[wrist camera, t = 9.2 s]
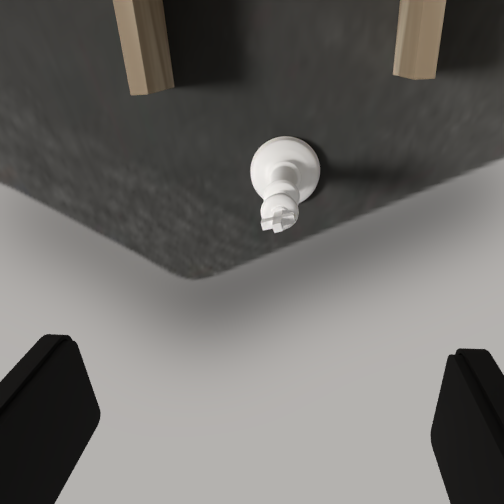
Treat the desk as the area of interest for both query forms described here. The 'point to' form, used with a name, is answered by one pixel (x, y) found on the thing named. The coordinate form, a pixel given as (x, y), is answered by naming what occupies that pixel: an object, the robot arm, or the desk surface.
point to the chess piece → (283, 179)
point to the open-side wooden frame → (158, 54)
